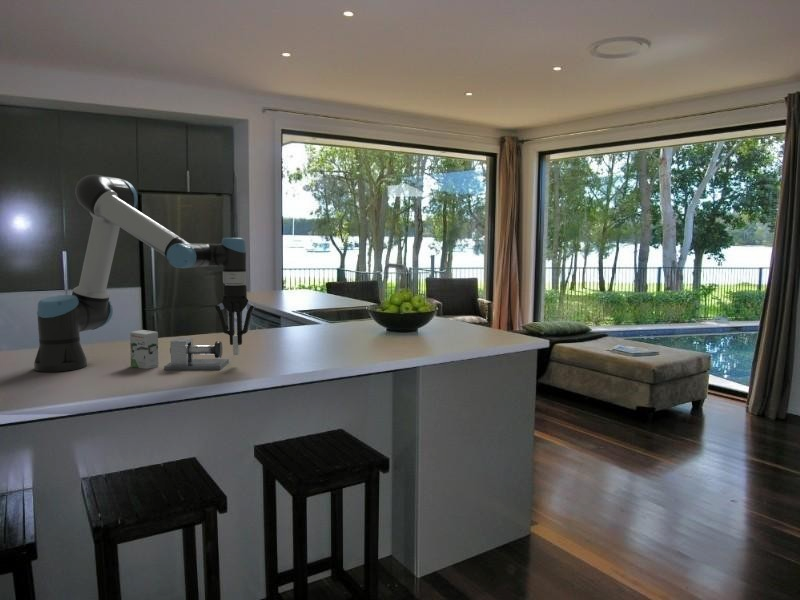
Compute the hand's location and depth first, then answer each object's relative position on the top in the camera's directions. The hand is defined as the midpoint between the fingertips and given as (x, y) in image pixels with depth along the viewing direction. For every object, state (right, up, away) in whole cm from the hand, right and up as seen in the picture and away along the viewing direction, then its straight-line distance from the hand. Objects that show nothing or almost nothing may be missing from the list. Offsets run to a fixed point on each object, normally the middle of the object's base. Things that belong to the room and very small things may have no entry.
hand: (236, 354), depth 202 cm
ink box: (-30, -4, -1) cm, 30 cm away
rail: (-13, -4, 0) cm, 13 cm away
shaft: (-13, -1, -1) cm, 13 cm away
